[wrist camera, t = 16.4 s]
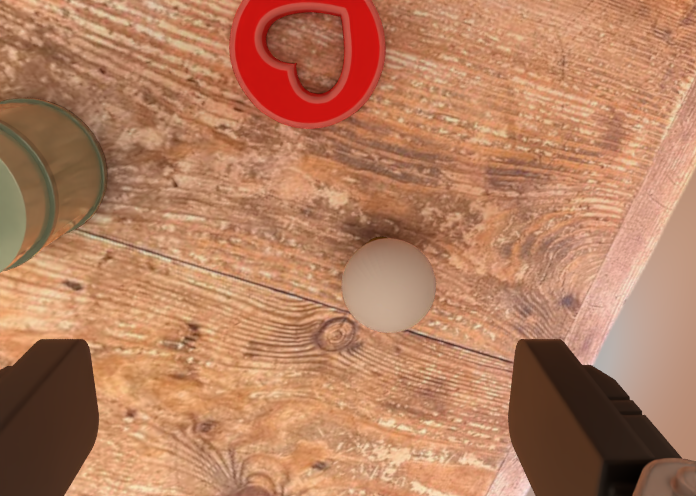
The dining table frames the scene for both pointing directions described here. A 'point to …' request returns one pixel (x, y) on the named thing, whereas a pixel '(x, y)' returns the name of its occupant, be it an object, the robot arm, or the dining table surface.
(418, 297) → the light bulb
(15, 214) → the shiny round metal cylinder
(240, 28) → the decorative ornament
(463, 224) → the dining table surface
